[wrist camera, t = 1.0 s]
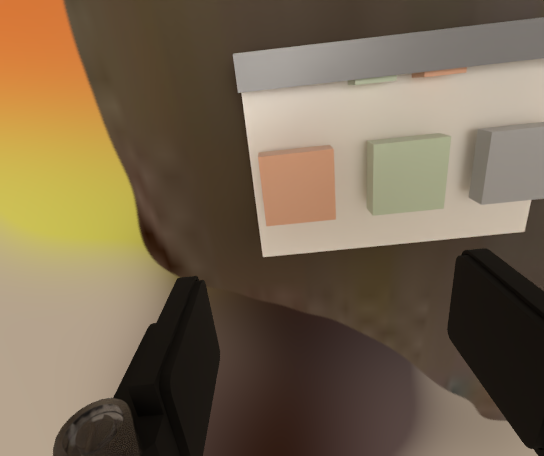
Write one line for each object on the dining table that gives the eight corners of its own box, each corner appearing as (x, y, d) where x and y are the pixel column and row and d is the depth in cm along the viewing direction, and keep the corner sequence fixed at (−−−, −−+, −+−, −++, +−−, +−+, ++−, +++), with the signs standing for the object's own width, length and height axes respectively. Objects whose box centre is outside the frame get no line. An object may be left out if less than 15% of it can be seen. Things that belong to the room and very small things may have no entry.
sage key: (439, 133, 21) (451, 136, 20) (433, 201, 23) (443, 208, 22) (366, 140, 22) (373, 144, 20) (366, 207, 23) (372, 215, 22)
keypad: (538, 24, 22) (608, 9, 18) (503, 219, 28) (549, 246, 23) (239, 59, 23) (232, 53, 18) (263, 243, 28) (262, 273, 24)
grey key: (551, 120, 21) (571, 123, 20) (536, 190, 23) (553, 197, 22) (477, 128, 21) (492, 131, 20) (468, 197, 23) (481, 204, 22)
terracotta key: (329, 144, 22) (333, 148, 20) (332, 211, 23) (336, 219, 22) (258, 152, 22) (257, 157, 20) (266, 218, 24) (266, 226, 22)
